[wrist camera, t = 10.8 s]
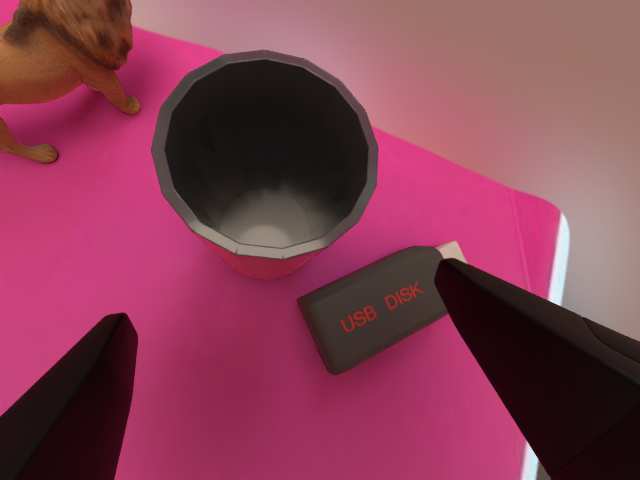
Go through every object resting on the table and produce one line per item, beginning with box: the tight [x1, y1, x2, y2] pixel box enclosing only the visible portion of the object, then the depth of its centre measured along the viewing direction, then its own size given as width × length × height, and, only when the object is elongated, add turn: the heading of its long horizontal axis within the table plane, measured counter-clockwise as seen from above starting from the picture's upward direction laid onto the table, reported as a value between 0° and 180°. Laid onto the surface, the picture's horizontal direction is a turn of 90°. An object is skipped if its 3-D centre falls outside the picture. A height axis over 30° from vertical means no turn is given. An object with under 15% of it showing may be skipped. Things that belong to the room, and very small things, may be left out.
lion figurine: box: [0, 0, 141, 163], centre depth 16 cm, size 15×5×9 cm, turn 138°
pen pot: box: [151, 50, 378, 280], centre depth 15 cm, size 7×7×12 cm
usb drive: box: [297, 241, 467, 375], centre depth 21 cm, size 5×12×3 cm, turn 115°
